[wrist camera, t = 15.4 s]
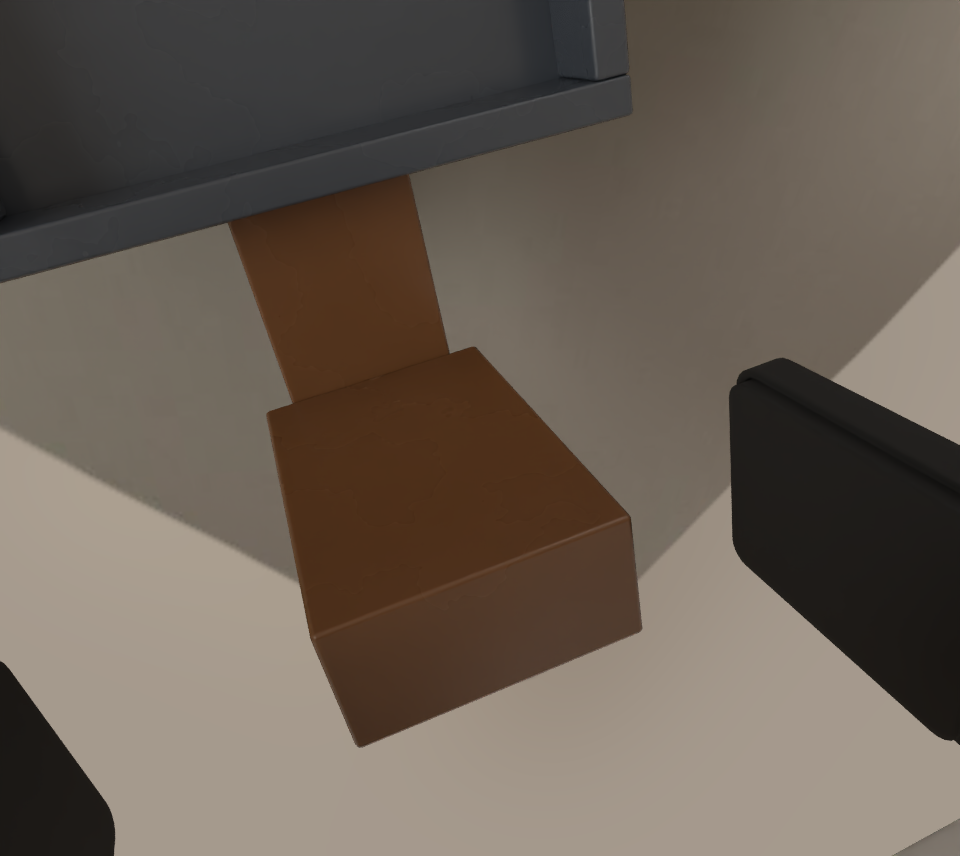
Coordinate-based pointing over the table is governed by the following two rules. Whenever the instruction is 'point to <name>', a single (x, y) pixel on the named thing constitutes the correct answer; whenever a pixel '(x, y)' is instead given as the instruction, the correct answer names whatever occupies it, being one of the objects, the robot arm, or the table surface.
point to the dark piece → (347, 297)
